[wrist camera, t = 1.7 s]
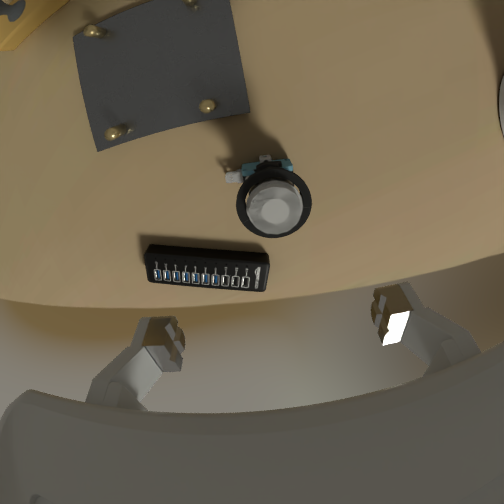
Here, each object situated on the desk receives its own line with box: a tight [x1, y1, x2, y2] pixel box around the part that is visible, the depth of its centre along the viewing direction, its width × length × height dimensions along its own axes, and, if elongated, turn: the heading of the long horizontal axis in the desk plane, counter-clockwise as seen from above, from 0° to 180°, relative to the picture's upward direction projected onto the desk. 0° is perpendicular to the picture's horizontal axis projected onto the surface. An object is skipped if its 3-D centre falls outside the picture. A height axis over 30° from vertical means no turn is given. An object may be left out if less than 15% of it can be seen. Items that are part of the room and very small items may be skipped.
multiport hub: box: [144, 244, 270, 292], centre depth 32 cm, size 4×14×2 cm, turn 84°
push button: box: [225, 155, 312, 238], centre depth 23 cm, size 7×5×10 cm
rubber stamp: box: [0, 0, 69, 51], centre depth 8 cm, size 10×6×12 cm, turn 108°
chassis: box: [73, 0, 250, 152], centre depth 19 cm, size 16×14×4 cm
